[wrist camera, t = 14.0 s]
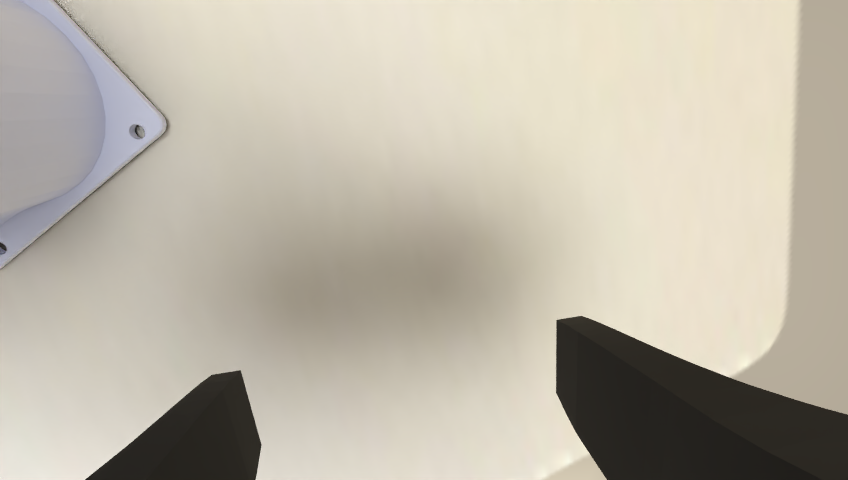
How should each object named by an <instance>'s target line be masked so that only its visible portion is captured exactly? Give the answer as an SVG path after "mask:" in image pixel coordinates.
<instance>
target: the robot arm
mask: <svg viewBox="0 0 848 480" xmlns="http://www.w3.org/2000/svg"><path fill="white" fill-rule="evenodd" d="M136 125H140V126H141V127H143V129H144V130H145V136H144V137H143V138H140V137H138V136H137V135H136V133H135V127H136ZM166 126H167V124H166V120H165V118H164V117H163V115H162V114H161V113H160V112H159V111H158V110H157V109H156V107H155V106H154V105H153V104H152V103H151V102H150V101H149V100H148V99H147V98H146V97H145V96H144V95H143V94H142V93H141V92H140V91H139V90H138V89H137V87H136V86H135V85H134V84H133V83H132V82H131V81H130V80H129V79H128V78H127V77H126V76H125V75H124V74H123V73H122V72H121V71H120V70H119V68H118V67H117V66H116V65H115V64H114V63H113V62H112V61H111V60H110V59H109V58H108V57H107V56H106V55H105V54H104V53H103V52H102V51H101V50H100V48H99V47H98V46H97V45H96V44H95V43H94V42H93V41H92V40H91V39H90V38H89V37H88V36H87V35H86V34H85V33H84V32H83V31H82V30H81V28H80V27H79V26H78V25H77V24H76V23H75V22H74V21H73V20H72V19H71V18H70V17H69V16H68V15H67V14H66V13H65V12H64V11H63V9H62V8H61V7H60V6H59V5H58V4H57V3H56V2H55V1H54V0H0V242H1V243H3V244H4V245H5V246H6V249H7V251H5V250H3V249H2V248H1V247H0V269H1V268H2V267H4V266H5V265H6V264H7V263H8V262H10V261H11V260H12V259H13V258H14V257H16V256H17V255H18V254H19V253H20V252H22V251H23V250H24V249H25V248H26V247H28V246H29V245H30V244H31V243H32V242H34V241H35V240H36V239H37V238H38V237H40V236H41V235H42V234H43V233H44V232H46V231H47V230H48V229H49V228H50V227H52V226H53V225H54V224H55V223H56V222H58V221H59V220H60V219H61V218H62V217H64V216H65V215H66V214H67V213H68V212H70V211H71V210H72V209H73V208H74V207H76V206H77V205H78V204H79V203H80V202H82V201H83V200H84V199H85V198H86V197H88V196H89V195H90V194H91V193H92V192H94V191H95V190H96V189H97V188H98V187H100V186H101V185H102V184H103V183H104V182H106V181H107V180H108V179H109V178H110V177H112V176H113V175H114V174H115V173H116V172H118V171H119V170H120V169H121V168H122V167H124V166H125V165H126V164H127V163H128V162H130V161H131V160H132V159H133V158H134V157H136V156H137V155H138V154H139V153H140V152H142V151H143V150H144V149H145V148H146V147H148V146H149V145H150V144H151V143H152V142H154V141H155V140H156V139H157V138H158V137H160V136H161V135H162V134H163V133H164V132H165V130H166ZM556 393H557V395H558V397H559V399H560V401H561V404H562V406H563V408H564V410H565V412H566V414H567V416H568V418H569V420H570V422H571V424H572V426H573V428H574V430H575V431H576V433H577V435H578V436H579V438H580V439H581V441H582V442H583V444H584V446H585V447H586V449H587V450H588V452H589V453H590V455H591V456H592V458H593V459H594V461H595V462H596V464H597V465H598V467H599V468H600V470H601V471H602V472H603V474H604V476H605V477H606V479H607V480H848V415H847V414H843V413H839V412H836V411H832V410H828V409H824V408H821V407H818V406H814V405H811V404H807V403H804V402H801V401H797V400H794V399H791V398H788V397H784V396H782V395H779V394H776V393H773V392H769V391H766V390H763V389H760V388H757V387H754V386H751V385H748V384H745V383H743V382H740V381H737V380H734V379H731V378H729V377H726V376H724V375H721V374H718V373H716V372H713V371H711V370H708V369H706V368H703V367H700V366H698V365H695V364H693V363H690V362H688V361H686V360H683V359H681V358H678V357H676V356H674V355H671V354H669V353H667V352H664V351H662V350H660V349H657V348H655V347H653V346H651V345H648V344H646V343H644V342H642V341H639V340H637V339H635V338H633V337H630V336H628V335H626V334H624V333H621V332H619V331H617V330H615V329H613V328H610V327H608V326H606V325H603V324H601V323H599V322H596V321H594V320H591V319H589V318H586V317H583V316H578V317H572V318H566V319H560V320H557V345H556ZM260 450H261V442H260V438H259V435H258V431H257V428H256V424H255V420H254V417H253V413H252V410H251V406H250V403H249V399H248V395H247V392H246V388H245V385H244V381H243V377H242V374H241V370H240V371H234V372H228V373H221V374H215V375H211V376H210V377H208V378H207V379H206V380H204V381H203V382H202V383H200V384H199V385H198V386H197V387H196V388H194V389H193V390H192V391H191V392H190V393H188V394H187V395H186V396H185V397H184V398H183V399H181V400H180V401H179V402H178V403H177V404H176V405H174V406H173V407H172V408H171V409H170V410H169V411H168V412H166V413H165V414H164V415H163V416H162V417H161V418H159V419H158V420H157V421H156V422H155V423H154V424H152V425H151V426H150V427H149V428H148V429H147V430H145V431H144V432H143V433H142V434H141V435H140V436H138V437H137V438H136V439H135V440H134V441H133V442H131V443H130V444H129V445H128V446H127V447H125V448H124V449H123V450H122V451H120V452H119V453H118V454H117V455H115V456H114V457H113V458H112V459H110V460H109V461H108V462H107V463H105V464H104V465H103V466H102V467H100V468H99V469H98V470H97V471H95V472H94V473H93V474H92V475H91V476H89V477H88V478H87V479H86V480H255V479H256V474H257V468H258V462H259V456H260Z"/></svg>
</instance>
